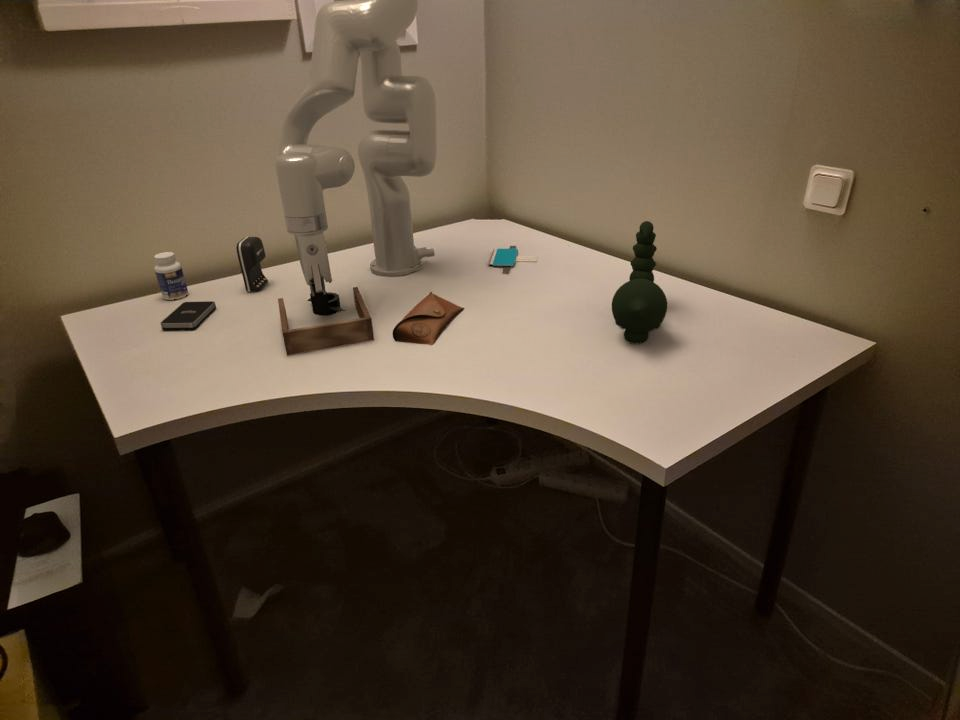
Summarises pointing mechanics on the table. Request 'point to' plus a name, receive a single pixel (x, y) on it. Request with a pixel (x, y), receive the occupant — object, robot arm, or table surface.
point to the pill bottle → (170, 276)
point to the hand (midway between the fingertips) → (321, 311)
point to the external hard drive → (188, 316)
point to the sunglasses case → (426, 320)
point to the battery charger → (251, 262)
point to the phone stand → (508, 258)
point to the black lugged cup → (332, 304)
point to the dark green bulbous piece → (640, 292)
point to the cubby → (328, 330)
